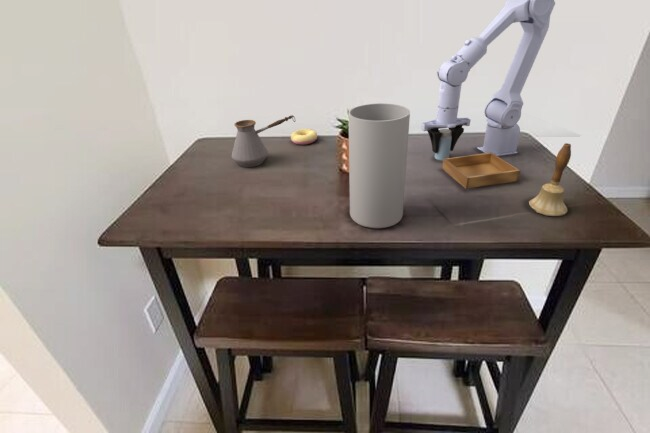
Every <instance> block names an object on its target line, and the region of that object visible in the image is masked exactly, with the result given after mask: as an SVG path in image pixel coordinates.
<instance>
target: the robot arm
mask: <svg viewBox="0 0 650 433" xmlns="http://www.w3.org/2000/svg"><path fill="white" fill-rule="evenodd" d="M555 5H556V1H555V0H506V1H505V3H504V5H503V8H502V9H501V10H500V12H498V14H497V15H496V16H495V17H494V18H493V19H492V20H491V22H490V23H489V24H488V25H487V26H486V27H485V29H484V30H483V31H482V32H481V33H480V34H479V36H477V37H470V39H466V40H465V41H464V42H463V44H464V45H463V46H462V47H461V48H460V49H459V50H458V51H457V52H456V53H455V54H453V55H452V56H451V57H450V60H446V61H444V62H443V63H442V64H441V65H440V67H439V70H437V72H436V76H437V78H438V80H439V92H438V100H437V108H436V117H435V118H436V119H433V120H429V121H426V122H425V121H424V122H421V127H420V129H421V131H423V132H427V133H428V134H427V135H428V136H429V139H430V142H431V148H432V150H431V151H432V152H433V153H434V154H435V153H438V147H439V141H440V138H441V135H442V133H441V132H439V130H440V129H449V130H451V131H452V134H451V135H452V142H451V149H450V152H453V151H454V149H455V147H456V144H457V142H458V140H459V138H460V137H461V136H462V135H463V133H464V131H465V128H464V126H465V127H470V126H471V119H470V118H469V117H458V115H459V114H458V113H459V106H460V98H461V91H462V84H463V83H464V82H466V81H467V79H468V75H469V72H470V71H471V69H472V68H473V67H475V65H476V64H477V63H478V62H479V61H480V60H481V59H482V58H483V57H484V56H485V55H487V51H488V46H489V45H490V44H491V43H493V42H494V40H496V39H497V38H498V37H499V36H500V35H501V34H502V33H504V31H505V30H507V29H508V28H509V27H510V26H511V25H512V24H514V23H519V24H520V26H521V29H522V30H523V34H522V36H521V39H520V41H519V44H518V46H517V48H516V51H515V54H514V55H513V58H512V61H511V63H510V66H509V67H508V71H507V73H506V75H505V78H504V80H503V84H502V86H501V88H500V89H499V90H498V91H496V92H495V93H493V94H492V96H491V99H490V100H489V101H488V102H487V103H486V105H485V107H484V111H483V112H484V116H485V117H486V122H487V123H486V127H485V128H486V129H485V134H484V139H483V145H482V146H477V147H476V149H478V150H480V151H481V152H483V153H491V152H492V153H493V154H495V155H497V156H498V157H500V156H505V155H506V156H507V155H514V154H518V153H519V152H518V151H517V149H518V146H519V141H520V136H521V128H520V126H519V124H518V123H519V121H520V120H521V116H522V108H523V106H524V101H523V98H522V96H521V93H522V91H523V89H524V86H525V84H526V82H527V80H528V77H529V75H530V73H531V71H532V68H533V66H534V63H535V61H536V59H537V56H538V54H539V52H540V49H541V47H542V44H543V43H544V40H545V38H546V36H547V33H548V31H549V28H550V23H551V22H550V21H551V15H552V13H553V11H554V7H555Z"/></svg>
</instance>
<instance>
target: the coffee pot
mask: <svg viewBox="0 0 650 433" xmlns="http://www.w3.org/2000/svg"><path fill="white" fill-rule="evenodd" d="M291 119H292V121H293V122H294V123H295V122H296V117H295V115H293V114H291V115H289V116H285V117H284V118H281V119H278V120H276V121H274V122H272V123H270V124H268V125H267V126H264V127H261V128H259V129H257V130H256V129H255V125H256V121H255V120H254V119H243V120H238V121H236V122H235V123H234V127H236V130H237V131H236V136H235V140H234V144H233V147H232V151H231V159H232V160H233V162H235V163H236V164H238V165H239V166H241V167H245V168H252V167H256V166H259V165H262V164H263V163H264V161H265V160H266V159H267V157H268V154H269V151H268V149H267V147H266V145H265V144H264V142H263V140H262V139H261V137H260V135H259V134H260V133H262V132H264V131H267V130H268V129H271V128H274V127H277V126H279V125H281V124H283V123H284V122H288V121H289V120H291Z"/></svg>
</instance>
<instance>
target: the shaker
mask: <svg viewBox="0 0 650 433" xmlns="http://www.w3.org/2000/svg"><path fill="white" fill-rule="evenodd" d="M439 132H441V133H442V135H441V138H440V141H439V147H438V153H434V159H436V160H438V161H443V159H446V158H451V156H450V155H451V151H450V149H451V142H452V135H451V134H452V131H451V130H449V128H441V129H439Z"/></svg>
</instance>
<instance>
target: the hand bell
mask: <svg viewBox="0 0 650 433" xmlns="http://www.w3.org/2000/svg"><path fill="white" fill-rule="evenodd" d="M571 156H572V144H571V143H564V144H563V146H562V147H561V148H560V149H559V151H558V153H557V154H556V158H555V161H554V162H555V164H554V165H555V170H554V172H553V176H552V178H551V180H550V183H549V182H548V183H544V184H543V185H542V186H541V189H540V191H539V193H538V194H537V195H536V196H535V197H533V198H531V199H530V200H529V201H528V203H529V206H530V208H532V209H533V212H535V213H538V214H540V215H543V216H547V217H562V216H565V215H566V214H567V213H568V207H567V206H566V204H565V202H564V193H565V188H564V187H563V186H562V185H560V182H561V179H562V176H563V173H564V171H565V169H567V166H568V165H569V162H570V160H571Z"/></svg>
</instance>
